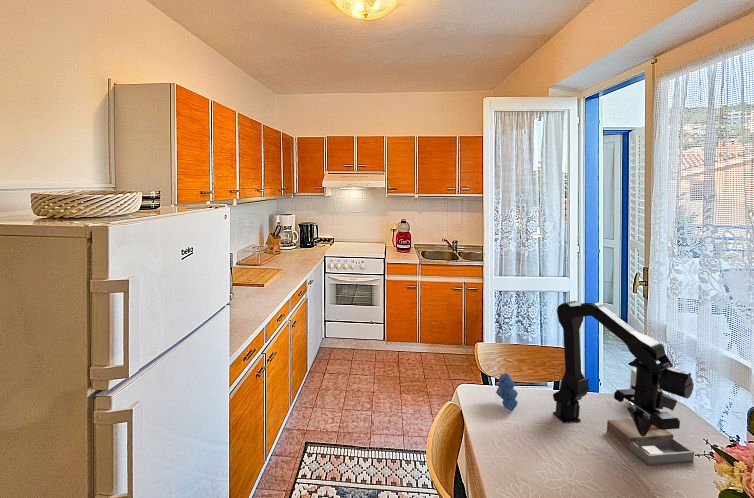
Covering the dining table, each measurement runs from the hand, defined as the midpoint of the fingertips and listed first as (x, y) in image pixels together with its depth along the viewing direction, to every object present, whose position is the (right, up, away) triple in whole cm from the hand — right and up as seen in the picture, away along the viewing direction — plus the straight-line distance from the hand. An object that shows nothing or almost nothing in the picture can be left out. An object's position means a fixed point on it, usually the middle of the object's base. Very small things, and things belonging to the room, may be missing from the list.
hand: (642, 435), depth 123 cm
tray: (+4, -5, -2) cm, 7 cm away
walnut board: (+3, -4, +7) cm, 9 cm away
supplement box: (+18, -2, +28) cm, 33 cm away
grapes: (-32, -2, +26) cm, 42 cm away
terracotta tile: (+7, 0, +8) cm, 11 cm away
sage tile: (+1, -3, -3) cm, 4 cm away
